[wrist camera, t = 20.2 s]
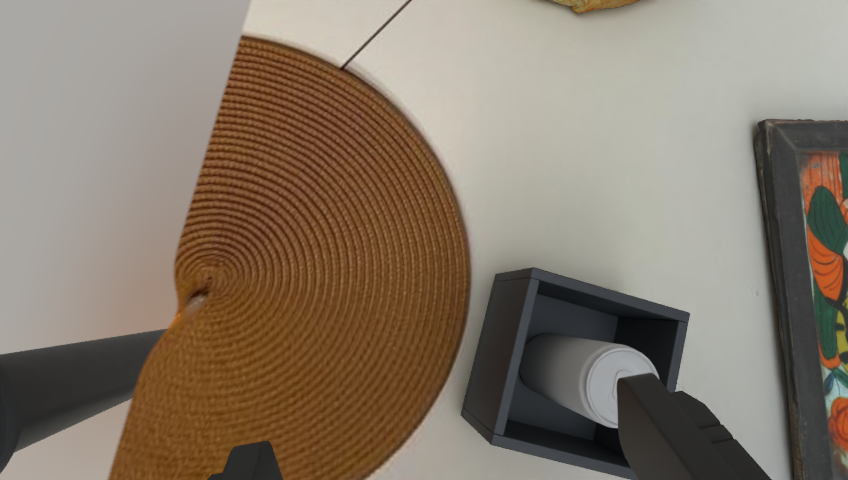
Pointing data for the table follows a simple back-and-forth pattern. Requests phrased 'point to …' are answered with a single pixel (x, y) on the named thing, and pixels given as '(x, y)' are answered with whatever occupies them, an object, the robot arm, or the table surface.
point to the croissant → (593, 4)
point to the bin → (571, 316)
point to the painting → (810, 282)
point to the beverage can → (581, 373)
